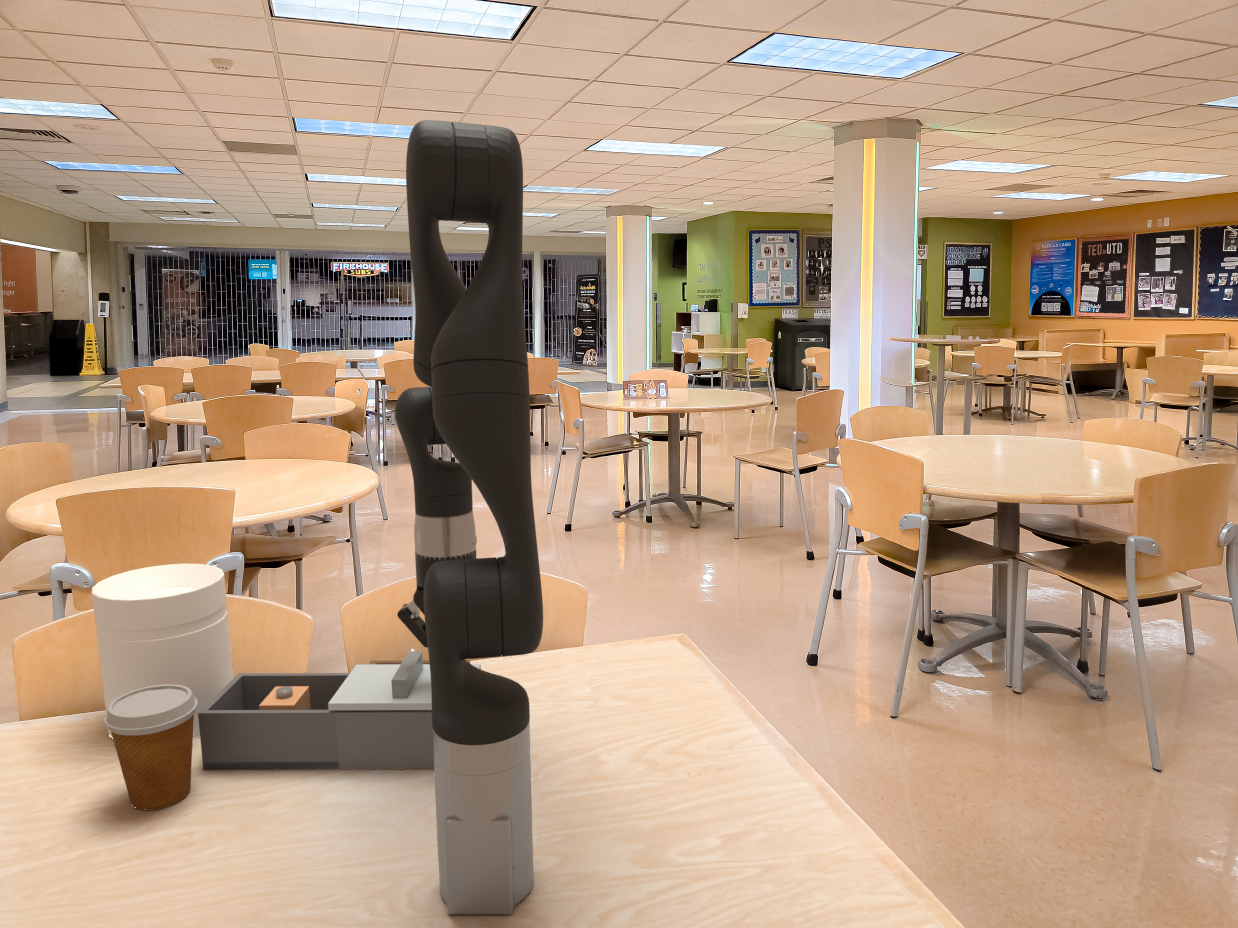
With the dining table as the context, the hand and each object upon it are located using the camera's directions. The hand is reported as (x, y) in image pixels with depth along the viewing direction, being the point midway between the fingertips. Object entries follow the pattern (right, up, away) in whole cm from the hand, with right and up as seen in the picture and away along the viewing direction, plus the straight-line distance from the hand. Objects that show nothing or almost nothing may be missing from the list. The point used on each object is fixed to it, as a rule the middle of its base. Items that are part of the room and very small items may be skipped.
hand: (451, 676), depth 113 cm
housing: (-13, -9, +2) cm, 16 cm away
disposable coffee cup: (-32, -12, -10) cm, 36 cm away
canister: (-40, -8, +10) cm, 42 cm away
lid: (-5, -2, 0) cm, 6 cm away
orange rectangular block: (-22, -8, +1) cm, 23 cm away
